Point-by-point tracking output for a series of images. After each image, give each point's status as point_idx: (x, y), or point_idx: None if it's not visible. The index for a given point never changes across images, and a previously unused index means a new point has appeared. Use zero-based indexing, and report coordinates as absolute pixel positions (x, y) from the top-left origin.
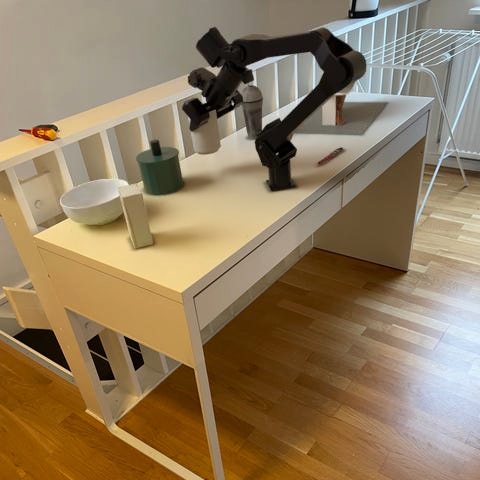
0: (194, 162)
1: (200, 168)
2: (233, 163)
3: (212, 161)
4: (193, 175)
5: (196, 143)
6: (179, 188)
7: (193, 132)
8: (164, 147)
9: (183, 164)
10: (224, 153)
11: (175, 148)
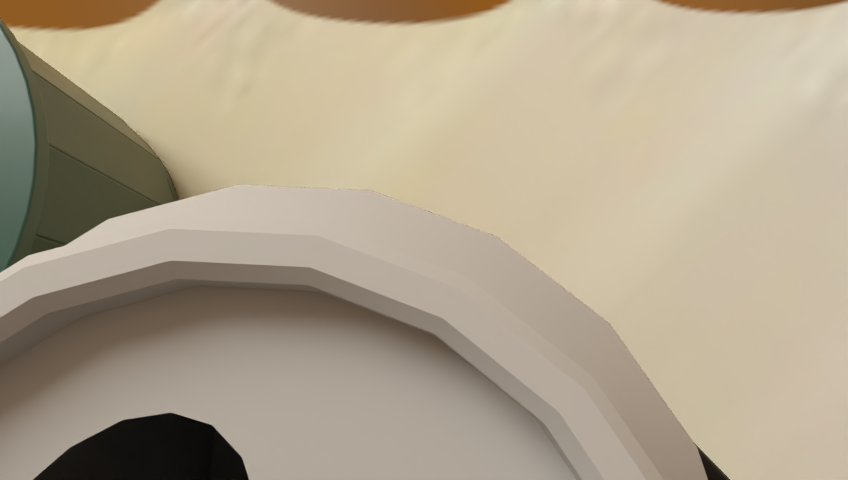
0: (543, 113)
1: None
2: None
3: (628, 250)
4: None
5: (167, 476)
6: None
7: (92, 472)
8: (4, 81)
9: (469, 56)
10: (832, 223)
11: (7, 251)
